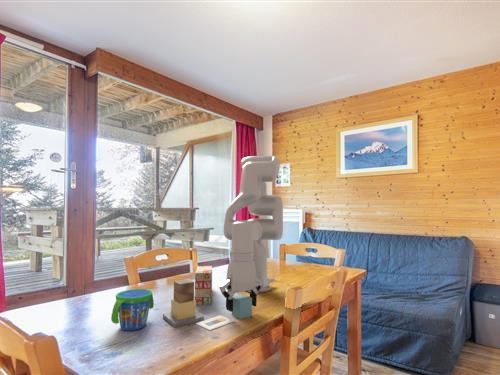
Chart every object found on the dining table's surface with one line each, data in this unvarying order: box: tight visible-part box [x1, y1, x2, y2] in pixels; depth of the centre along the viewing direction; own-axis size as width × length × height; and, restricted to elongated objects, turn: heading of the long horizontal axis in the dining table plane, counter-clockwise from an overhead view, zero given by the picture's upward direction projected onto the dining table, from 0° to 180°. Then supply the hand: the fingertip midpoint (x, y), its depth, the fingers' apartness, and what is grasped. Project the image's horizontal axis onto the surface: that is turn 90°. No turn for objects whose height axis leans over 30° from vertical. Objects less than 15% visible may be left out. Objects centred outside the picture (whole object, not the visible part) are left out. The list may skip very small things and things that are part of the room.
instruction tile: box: [195, 314, 235, 331], centre depth 97 cm, size 10×7×1 cm
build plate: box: [162, 298, 205, 328], centre depth 100 cm, size 10×10×6 cm
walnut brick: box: [173, 278, 195, 303], centre depth 100 cm, size 5×5×6 cm
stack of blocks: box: [194, 265, 213, 306], centre depth 125 cm, size 21×6×12 cm, turn 6°
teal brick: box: [231, 294, 253, 319], centre depth 104 cm, size 5×5×6 cm
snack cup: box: [110, 288, 155, 331], centre depth 94 cm, size 16×10×10 cm
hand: (241, 307), depth 104 cm, fingers open, 9 cm apart
